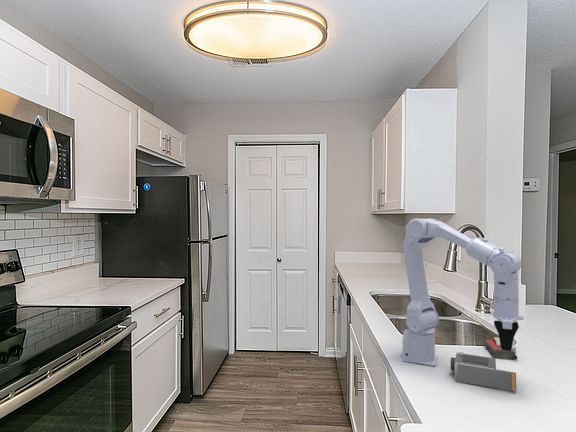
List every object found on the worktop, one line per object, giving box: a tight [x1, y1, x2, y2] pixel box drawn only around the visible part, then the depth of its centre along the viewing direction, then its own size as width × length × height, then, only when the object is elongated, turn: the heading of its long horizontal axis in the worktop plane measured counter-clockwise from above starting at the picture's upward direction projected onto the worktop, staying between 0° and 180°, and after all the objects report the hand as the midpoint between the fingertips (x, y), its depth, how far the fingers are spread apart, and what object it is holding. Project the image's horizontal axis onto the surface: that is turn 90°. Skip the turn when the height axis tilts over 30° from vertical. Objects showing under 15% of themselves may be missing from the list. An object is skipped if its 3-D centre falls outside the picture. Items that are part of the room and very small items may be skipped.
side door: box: [454, 363, 517, 392], centre depth 102 cm, size 14×1×5 cm, turn 63°
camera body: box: [450, 351, 497, 372], centre depth 108 cm, size 11×8×6 cm
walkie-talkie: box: [484, 336, 518, 361], centre depth 130 cm, size 9×4×20 cm
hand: (506, 349), depth 103 cm, fingers closed
